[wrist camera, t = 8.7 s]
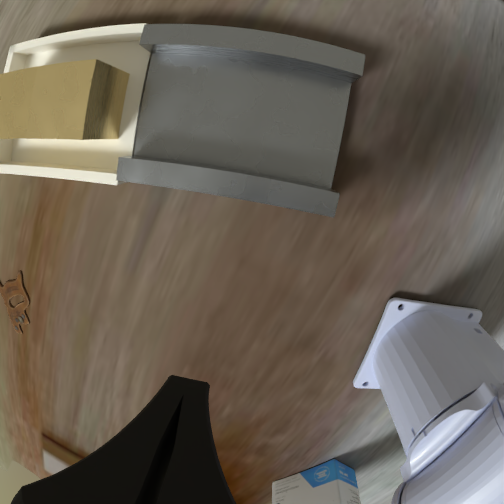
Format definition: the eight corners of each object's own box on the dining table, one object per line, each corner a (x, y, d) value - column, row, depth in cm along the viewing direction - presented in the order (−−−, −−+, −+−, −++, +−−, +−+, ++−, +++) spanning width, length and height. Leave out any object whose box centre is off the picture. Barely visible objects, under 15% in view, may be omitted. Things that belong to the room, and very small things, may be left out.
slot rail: (349, 68, 15) (365, 54, 12) (322, 205, 17) (334, 217, 14) (162, 40, 14) (144, 24, 11) (138, 174, 17) (116, 180, 14)
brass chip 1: (76, 75, 14) (37, 66, 11) (66, 136, 16) (26, 138, 12) (33, 80, 14) (-5, 75, 10) (25, 136, 16) (-14, 139, 12)
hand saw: (114, 451, 28) (113, 455, 27) (85, 444, 28) (83, 448, 28) (26, 268, 20) (21, 271, 19) (-4, 270, 20) (-8, 273, 20)
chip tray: (158, 35, 14) (146, 23, 12) (133, 180, 17) (117, 185, 15) (28, 50, 14) (10, 46, 12) (11, 168, 17) (-8, 172, 15)
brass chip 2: (129, 73, 14) (96, 59, 11) (118, 139, 16) (82, 139, 12) (76, 76, 14) (37, 66, 11) (66, 136, 16) (26, 138, 12)
